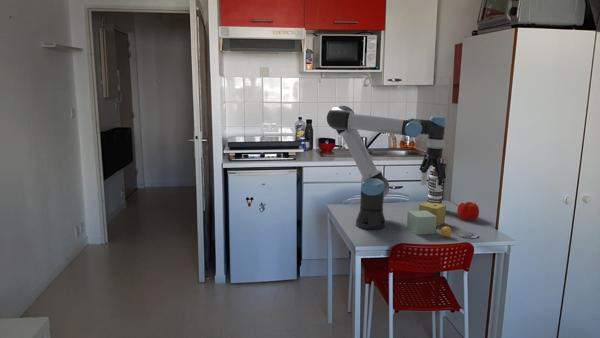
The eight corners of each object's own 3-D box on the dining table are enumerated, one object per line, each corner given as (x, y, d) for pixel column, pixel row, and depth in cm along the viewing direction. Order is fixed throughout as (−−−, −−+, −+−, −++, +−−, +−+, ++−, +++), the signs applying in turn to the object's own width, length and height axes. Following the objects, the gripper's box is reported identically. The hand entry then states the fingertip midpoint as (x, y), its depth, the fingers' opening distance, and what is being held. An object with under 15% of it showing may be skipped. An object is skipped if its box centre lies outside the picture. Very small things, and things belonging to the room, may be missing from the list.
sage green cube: (416, 234, 220) (417, 217, 218) (406, 227, 230) (408, 211, 228) (435, 233, 222) (436, 216, 220) (425, 226, 232) (426, 210, 230)
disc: (464, 239, 215) (464, 239, 215) (453, 232, 224) (453, 232, 224) (483, 238, 217) (483, 237, 217) (471, 231, 226) (471, 231, 226)
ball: (443, 238, 215) (444, 228, 214) (438, 235, 220) (439, 225, 219) (453, 238, 216) (454, 228, 215) (447, 234, 221) (448, 224, 220)
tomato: (465, 215, 254) (467, 199, 253) (482, 221, 244) (484, 204, 242) (451, 217, 250) (453, 201, 248) (468, 223, 239) (470, 207, 237)
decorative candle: (428, 211, 259) (432, 168, 254) (423, 207, 268) (426, 165, 263) (444, 211, 260) (448, 169, 255) (438, 207, 269) (442, 166, 264)
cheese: (427, 218, 246) (429, 200, 244) (445, 223, 239) (447, 205, 237) (417, 222, 239) (418, 204, 237) (435, 227, 232) (437, 208, 230)
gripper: (456, 151, 217) (451, 194, 221) (427, 143, 240) (423, 182, 245) (442, 151, 215) (437, 194, 219) (415, 143, 238) (411, 182, 243)
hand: (430, 188), depth 232 cm, fingers open, 13 cm apart
